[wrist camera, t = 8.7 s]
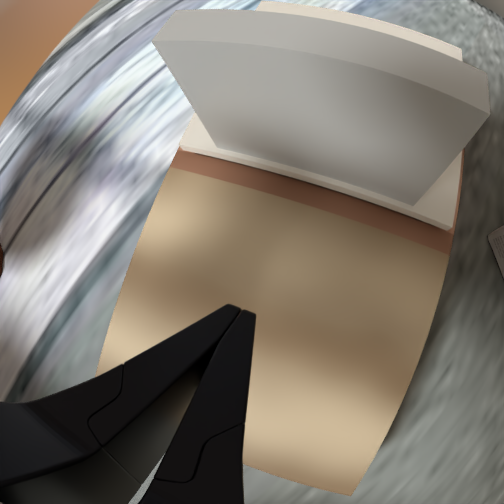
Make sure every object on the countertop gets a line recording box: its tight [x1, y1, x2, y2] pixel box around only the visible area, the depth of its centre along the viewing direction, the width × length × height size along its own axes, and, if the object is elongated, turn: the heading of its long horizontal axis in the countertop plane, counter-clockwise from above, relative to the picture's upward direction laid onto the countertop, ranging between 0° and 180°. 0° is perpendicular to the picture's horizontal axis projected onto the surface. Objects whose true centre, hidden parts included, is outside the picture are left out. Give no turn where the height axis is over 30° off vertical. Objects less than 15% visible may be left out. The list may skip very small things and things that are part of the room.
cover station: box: [95, 146, 465, 496], centre depth 15 cm, size 24×14×3 cm, turn 160°
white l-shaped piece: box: [152, 1, 490, 231], centre depth 10 cm, size 12×13×8 cm
